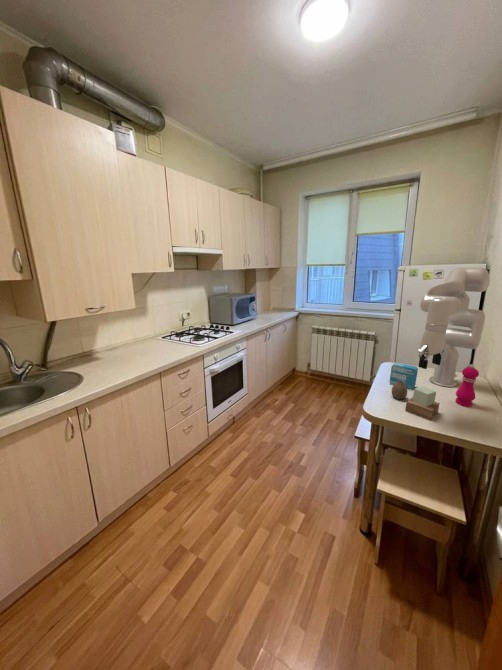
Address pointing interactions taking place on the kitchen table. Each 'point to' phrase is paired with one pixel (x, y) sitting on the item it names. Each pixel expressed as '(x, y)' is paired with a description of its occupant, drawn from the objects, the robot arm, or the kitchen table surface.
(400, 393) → the vase
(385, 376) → the kitchen table surface
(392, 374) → the data package
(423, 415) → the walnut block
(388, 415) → the kitchen table surface
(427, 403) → the green cube
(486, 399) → the kitchen table surface
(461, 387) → the pepper mill
